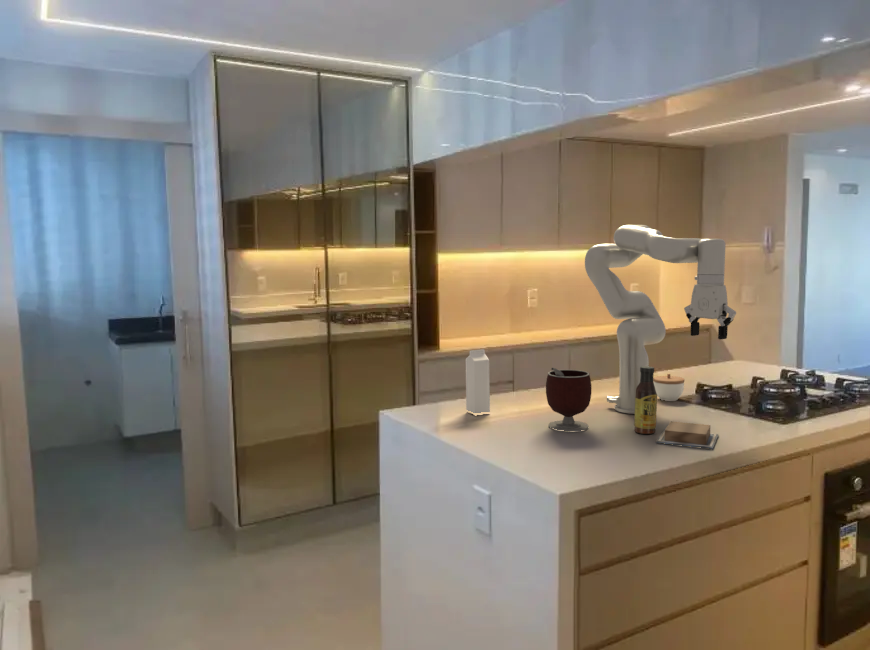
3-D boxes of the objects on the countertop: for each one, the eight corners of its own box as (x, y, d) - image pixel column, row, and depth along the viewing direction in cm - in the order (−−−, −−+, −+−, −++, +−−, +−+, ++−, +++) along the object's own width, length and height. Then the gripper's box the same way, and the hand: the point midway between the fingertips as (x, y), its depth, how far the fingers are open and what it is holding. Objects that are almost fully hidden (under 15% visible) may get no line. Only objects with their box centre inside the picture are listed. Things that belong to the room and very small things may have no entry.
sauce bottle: (644, 436, 200) (645, 369, 198) (629, 431, 206) (630, 366, 204) (661, 433, 203) (662, 367, 201) (645, 428, 209) (646, 364, 207)
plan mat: (655, 443, 193) (656, 431, 192) (664, 430, 206) (665, 419, 205) (712, 449, 186) (713, 436, 185) (718, 436, 199) (718, 424, 198)
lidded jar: (687, 398, 250) (687, 372, 249) (680, 403, 241) (680, 377, 240) (657, 395, 255) (657, 370, 254) (649, 400, 246) (649, 375, 245)
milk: (466, 413, 234) (464, 349, 231) (481, 410, 236) (480, 348, 234) (475, 416, 228) (473, 351, 226) (490, 414, 231) (489, 350, 229)
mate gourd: (562, 419, 222) (562, 358, 220) (599, 426, 212) (600, 363, 210) (533, 428, 211) (533, 365, 209) (571, 436, 201) (571, 370, 199)
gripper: (678, 279, 208) (676, 335, 210) (727, 282, 193) (725, 341, 195) (694, 278, 212) (692, 333, 214) (744, 281, 197) (741, 339, 199)
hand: (708, 337), depth 205 cm, fingers open, 9 cm apart
